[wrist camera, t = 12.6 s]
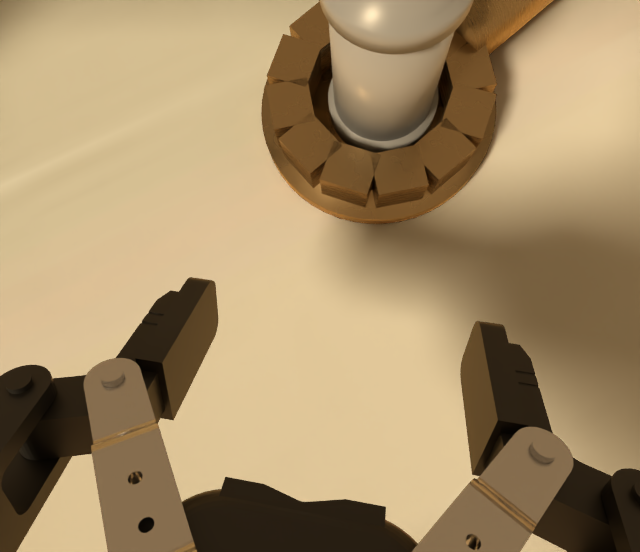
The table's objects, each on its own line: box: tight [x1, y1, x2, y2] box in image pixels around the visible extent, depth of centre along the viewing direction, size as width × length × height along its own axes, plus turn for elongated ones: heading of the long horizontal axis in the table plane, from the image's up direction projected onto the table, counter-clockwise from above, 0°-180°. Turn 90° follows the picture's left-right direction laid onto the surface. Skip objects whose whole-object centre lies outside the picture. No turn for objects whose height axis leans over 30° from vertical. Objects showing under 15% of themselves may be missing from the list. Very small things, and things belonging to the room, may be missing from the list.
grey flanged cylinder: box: [319, 0, 474, 153], centre depth 19 cm, size 5×5×9 cm
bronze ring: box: [262, 0, 553, 224], centre depth 23 cm, size 12×20×4 cm, turn 131°
